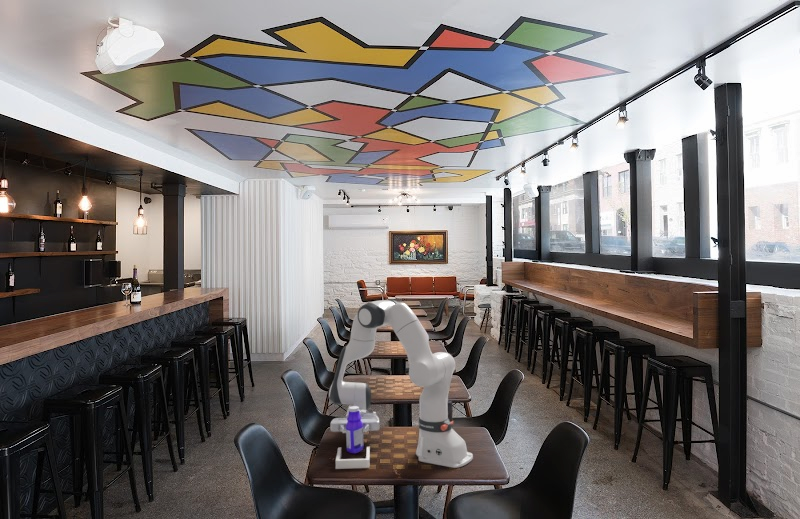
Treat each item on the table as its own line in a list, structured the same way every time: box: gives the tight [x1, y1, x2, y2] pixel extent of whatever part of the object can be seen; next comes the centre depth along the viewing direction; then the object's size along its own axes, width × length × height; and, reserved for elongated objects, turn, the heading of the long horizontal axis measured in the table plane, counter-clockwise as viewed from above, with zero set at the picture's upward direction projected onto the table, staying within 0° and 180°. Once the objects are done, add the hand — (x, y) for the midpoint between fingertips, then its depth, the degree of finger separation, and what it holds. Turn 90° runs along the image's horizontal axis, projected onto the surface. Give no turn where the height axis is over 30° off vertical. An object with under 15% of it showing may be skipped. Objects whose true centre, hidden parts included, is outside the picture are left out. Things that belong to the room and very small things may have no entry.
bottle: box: [345, 406, 365, 454], centre depth 192 cm, size 7×6×17 cm
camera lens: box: [448, 397, 454, 428], centre depth 210 cm, size 8×8×15 cm
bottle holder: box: [335, 446, 371, 470], centre depth 183 cm, size 12×12×3 cm
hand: (354, 431), depth 191 cm, fingers closed on bottle, 7 cm apart
